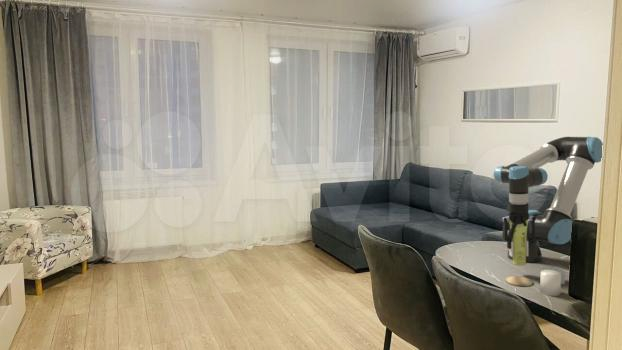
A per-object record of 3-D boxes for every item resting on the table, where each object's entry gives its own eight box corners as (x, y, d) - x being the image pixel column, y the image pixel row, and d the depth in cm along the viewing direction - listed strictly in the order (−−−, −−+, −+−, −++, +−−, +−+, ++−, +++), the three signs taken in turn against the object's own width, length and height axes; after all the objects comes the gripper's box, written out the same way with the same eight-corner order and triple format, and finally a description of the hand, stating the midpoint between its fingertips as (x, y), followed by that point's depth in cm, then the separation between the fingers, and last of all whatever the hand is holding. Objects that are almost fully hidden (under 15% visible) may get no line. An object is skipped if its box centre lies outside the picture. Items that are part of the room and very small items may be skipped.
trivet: (526, 277, 193) (526, 276, 193) (536, 286, 183) (536, 284, 183) (502, 278, 193) (502, 276, 193) (511, 286, 183) (511, 284, 183)
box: (557, 279, 190) (558, 267, 189) (564, 284, 184) (565, 272, 184) (542, 279, 190) (543, 267, 190) (549, 284, 185) (549, 272, 184)
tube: (518, 267, 193) (518, 222, 190) (509, 263, 198) (508, 220, 195) (528, 264, 195) (528, 220, 193) (518, 261, 200) (518, 218, 197)
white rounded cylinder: (555, 289, 179) (555, 269, 178) (564, 296, 172) (564, 275, 171) (536, 289, 179) (537, 269, 178) (545, 296, 172) (545, 275, 171)
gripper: (536, 200, 196) (536, 252, 199) (493, 202, 197) (493, 253, 200) (545, 203, 189) (544, 257, 192) (499, 205, 190) (500, 259, 193)
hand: (518, 255), depth 196 cm, fingers closed on tube, 6 cm apart
